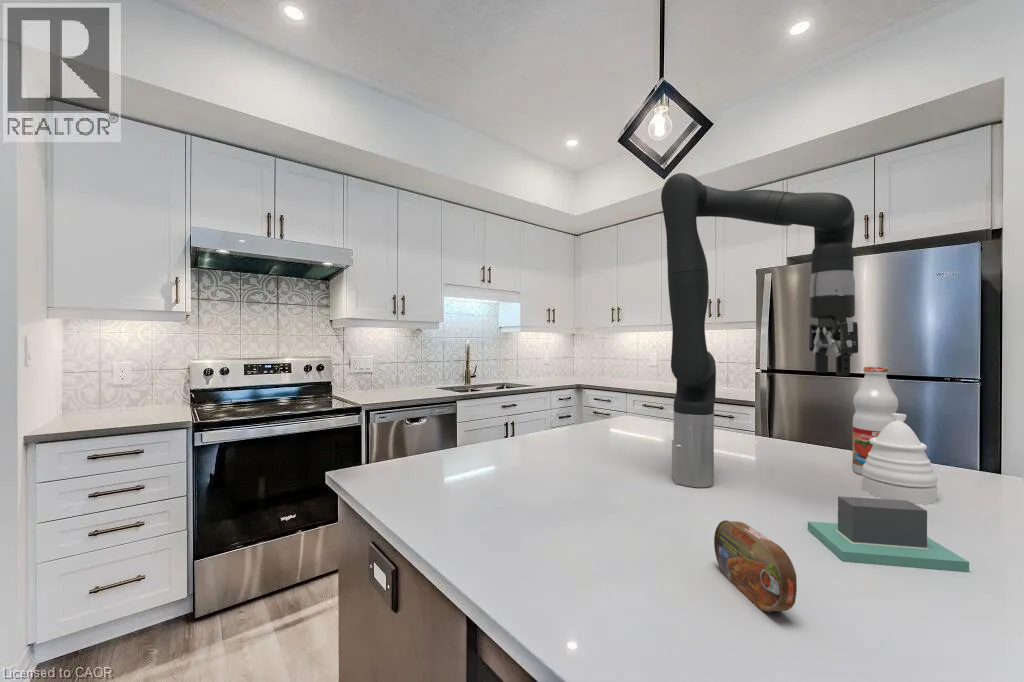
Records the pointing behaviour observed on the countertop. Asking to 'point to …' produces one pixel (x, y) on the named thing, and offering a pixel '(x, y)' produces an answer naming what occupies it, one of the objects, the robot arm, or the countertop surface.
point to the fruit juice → (871, 412)
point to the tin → (755, 566)
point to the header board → (887, 551)
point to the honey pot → (899, 466)
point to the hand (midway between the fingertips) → (831, 373)
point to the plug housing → (882, 521)
